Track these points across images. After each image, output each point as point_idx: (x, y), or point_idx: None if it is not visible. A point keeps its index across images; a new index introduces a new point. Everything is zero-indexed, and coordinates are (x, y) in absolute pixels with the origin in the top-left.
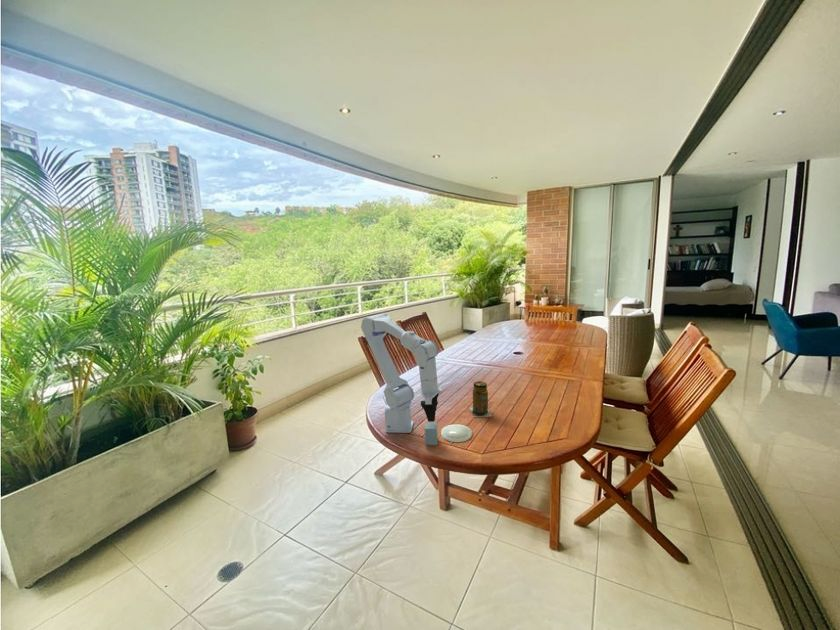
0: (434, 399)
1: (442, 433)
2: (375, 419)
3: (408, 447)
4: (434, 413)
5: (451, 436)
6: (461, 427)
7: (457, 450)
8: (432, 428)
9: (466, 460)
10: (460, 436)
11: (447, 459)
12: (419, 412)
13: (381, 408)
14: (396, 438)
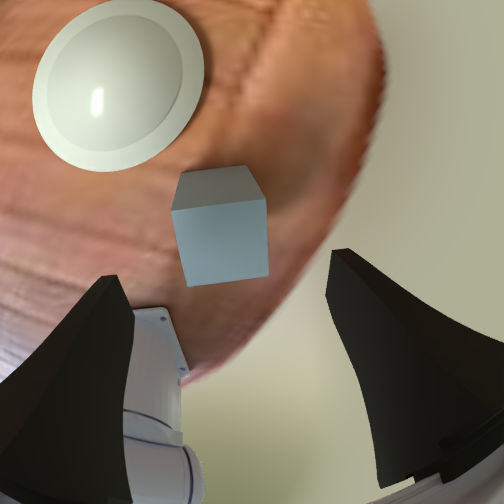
0: (77, 394)
1: (137, 157)
2: None
3: (277, 284)
4: (411, 300)
5: (166, 96)
6: (62, 68)
7: (287, 54)
8: (260, 228)
9: (361, 24)
10: (159, 46)
11: (361, 105)
12: (13, 305)
13: None
14: (217, 337)
